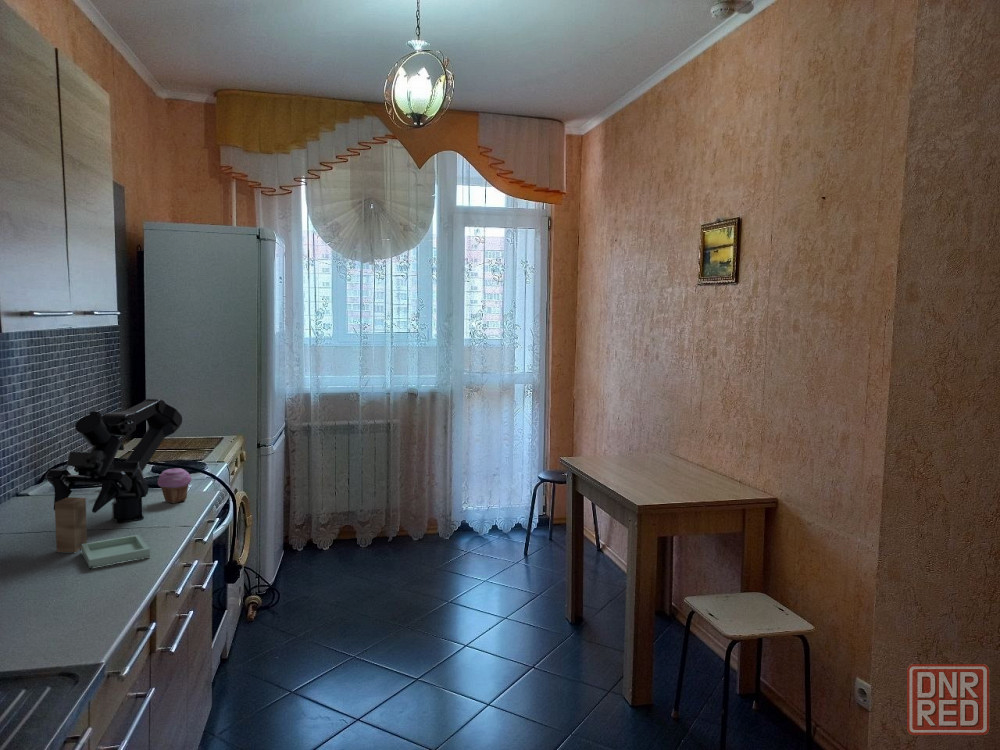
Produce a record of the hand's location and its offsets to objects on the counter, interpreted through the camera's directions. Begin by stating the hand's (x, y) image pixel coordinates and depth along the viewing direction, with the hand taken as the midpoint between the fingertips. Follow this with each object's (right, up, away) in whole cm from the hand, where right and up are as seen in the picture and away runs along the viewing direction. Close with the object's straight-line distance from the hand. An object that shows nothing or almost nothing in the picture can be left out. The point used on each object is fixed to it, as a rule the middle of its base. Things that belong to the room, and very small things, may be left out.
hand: (74, 511), depth 158 cm
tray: (+12, -10, -3) cm, 16 cm away
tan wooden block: (0, -9, 0) cm, 9 cm away
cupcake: (+5, -5, +39) cm, 40 cm away
